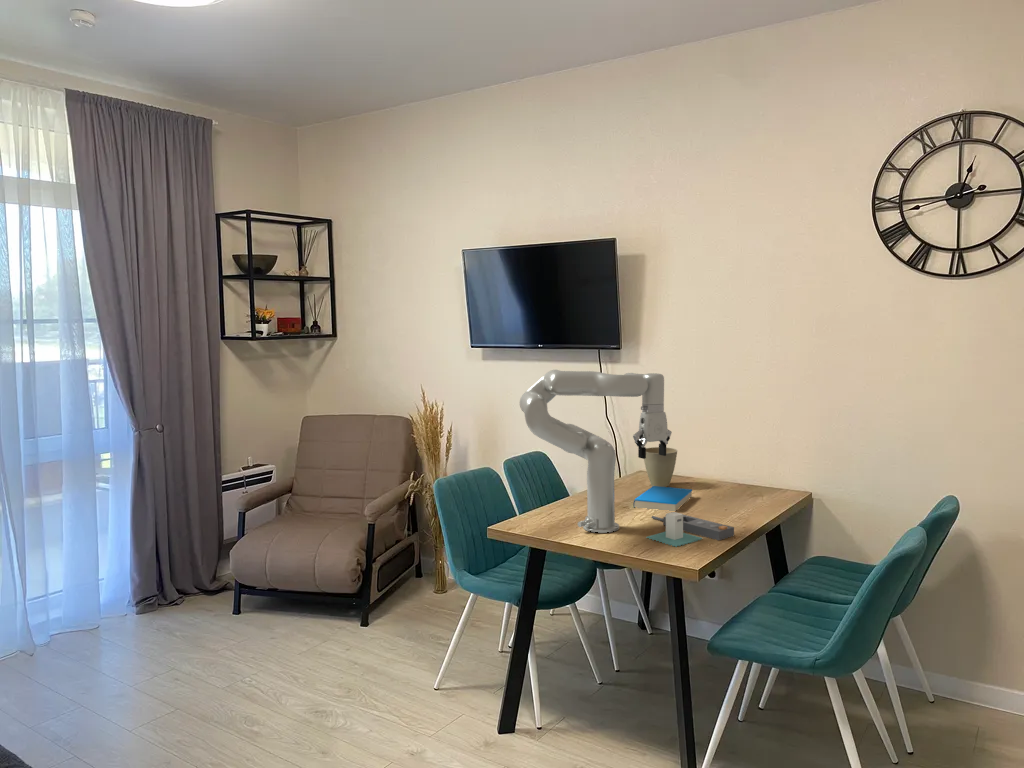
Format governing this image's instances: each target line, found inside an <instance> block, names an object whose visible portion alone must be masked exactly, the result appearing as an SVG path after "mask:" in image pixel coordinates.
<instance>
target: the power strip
mask: <svg viewBox="0 0 1024 768" xmlns="http://www.w3.org/2000/svg"><path fill="white" fill-rule="evenodd" d="M650 518H651V519H652V518H653V520H656V519H657V520H656V521H659V520H660V522H662V523H663V525H665V526H664V527H666V516H663V517H658V516H654V515H652V516H651V517H650ZM685 531H686V533H689V532H690V533H689V534H692V535H697V536H700V535H701V536H700V537H705V538H708V537H709V538H708V539H711V538H712V540H715V539H716V540H717V541H719V540H720V541H722V539H723V540H725V538H726V539H728V537H729V538H731V536H732V537H734V536H735V527H734V526H731V525H726V524H723V523H719V522H714V521H711V520H706V519H703V518H699V517H694V516H691V515H686V514H683V532H685ZM733 535H734V536H733ZM716 540H715V541H716Z"/></svg>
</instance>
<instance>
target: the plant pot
mask: <svg viewBox="0 0 1024 768" xmlns="http://www.w3.org/2000/svg"><path fill="white" fill-rule="evenodd" d="M677 455H678V449H676V448H673V447H667V446H666V456H662V455H659V446H655V447H646V458H645V459H643V462H644V466H645V470H646V473H647V474H646V475H647V477H648V481H649V482H650V485H651V487H653V486H660V487H666V486H668V487H670V484H671V481H672V478H673V474H674V471H675V468H676V462H677Z"/></svg>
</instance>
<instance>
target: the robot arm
mask: <svg viewBox="0 0 1024 768" xmlns="http://www.w3.org/2000/svg"><path fill="white" fill-rule="evenodd" d="M556 396H565V397H566V396H577V397H578V396H582V397H583V396H585V397H587V396H588V397H589V396H590V397H627V398H630V397H631V398H634V397H641V406H640V410H641V412H640V417H639V424H638V431H637V432H635V433H634V434H633V435H632V438H633V441H634V443H635V444H636V447H638V448H637V449H638V453H637V455H638V456H637V457H638V458H639V459H643V460H644V459H645V458H646V448H647V447H646V445H647V443H653V442H654V443H655V442H659V443H658V447H659V455H662V456H666V447H667V445H668V444H669V441H670V439H671V436H672V431H671V430H670V429H668V421H667V420H668V418H667V413H666V412H665V376H664V375H663V374H662V373H654V372H653V373H644V374H643V373H634V372H627V373H624V374H612V373H605V372H599V371H593V370H592V371H590V370H589V371H588V370H587V371H586V370H585V371H584V370H583V371H582V370H581V371H579V370H577V371H576V370H575V371H574V370H573V371H572V370H560V369H559V370H558V369H552V370H549V371H547V372H546V373H545V374H543V375H542V376H541V378H539V379H538V380H537V381H535V383H534V384H533V385H532V386H531V387H529V388H528V389H527V390H526V391H524V393H522V395H521V396H520V399H519V407H520V409H521V412H523V414H524V419H525V424H526V427H527V428H528V429H529V430H530V432H531V433H532V434H533V435H534V436H536V437H537V438H540V439H541V440H543V441H544V442H545V441H546V442H548V444H551V445H553V446H555V447H558V448H560V449H561V450H563V451H564V452H566V453H568V454H574V455H576V456H578V457H580V458H582V459H584V460H587V471H586V485H587V486H586V487H587V488H586V493H587V495H586V496H587V498H586V499H587V505H586V506H587V515H586V516H585V519H584V520H581V521H578V522H577V527H579V528H582V529H583V530H585V531H587V532H590V531H591V532H590V533H595V532H598V533H597V534H604V533H605V534H607V532H609V533H614V532H617V531H618V530H620V525H619V523H617V522H615V521H616V519H615V517H616V514H615V470H616V461H617V459H616V458H617V455H616V454H617V453H616V450H615V448H614V446H613V445H612V444H611V443H610V442H609V441H608V440H606V439H604V438H602V437H600V436H599V435H596V434H595V433H593V432H591V431H588V430H586V429H584V428H581V427H579V426H578V425H575V424H573V423H565V422H564V421H562V420H560V419H557V418H555V417H554V416H552V415H550V413H549V410H548V403H550V401H552V400H553V399H554V398H555V397H556ZM613 531H614V532H613Z"/></svg>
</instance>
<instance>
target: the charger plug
mask: <svg viewBox="0 0 1024 768" xmlns="http://www.w3.org/2000/svg"><path fill="white" fill-rule="evenodd" d="M683 515H684V514H683V513H681V512H677V511H676V512H667V513H665V517H666V526H665V531H666V537H667V538H670V539H674V540H676V539H680V538H683V533H684V531H683Z"/></svg>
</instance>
